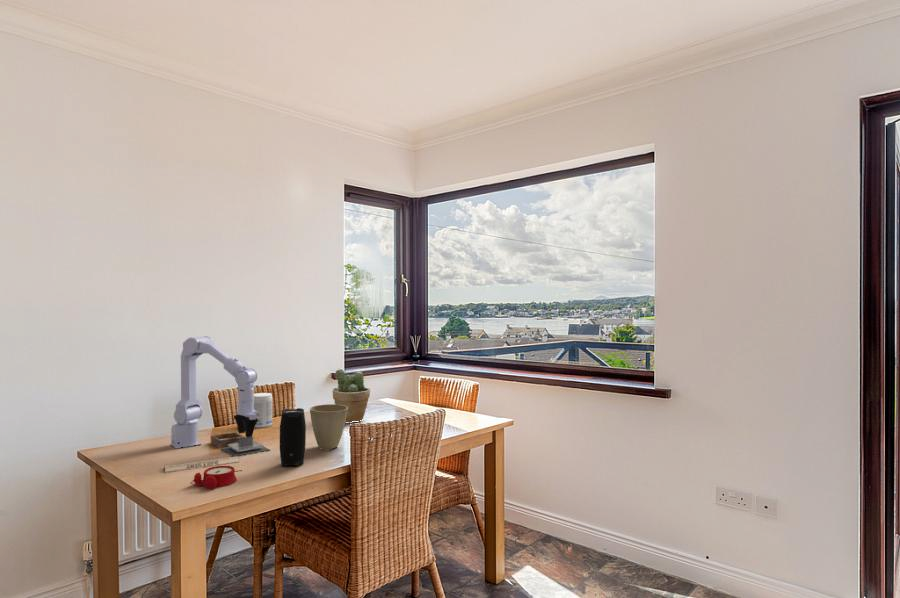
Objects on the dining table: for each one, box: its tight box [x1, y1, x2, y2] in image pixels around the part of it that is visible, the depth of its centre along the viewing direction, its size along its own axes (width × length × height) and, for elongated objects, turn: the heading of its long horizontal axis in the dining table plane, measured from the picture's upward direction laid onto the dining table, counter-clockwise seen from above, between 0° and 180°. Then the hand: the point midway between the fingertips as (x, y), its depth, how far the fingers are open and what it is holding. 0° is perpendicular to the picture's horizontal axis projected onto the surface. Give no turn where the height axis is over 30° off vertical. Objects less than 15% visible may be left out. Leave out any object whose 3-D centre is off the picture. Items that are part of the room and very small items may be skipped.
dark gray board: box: [220, 446, 271, 457], centre depth 212 cm, size 14×14×1 cm
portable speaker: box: [279, 407, 307, 468], centre depth 194 cm, size 9×9×20 cm
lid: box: [227, 436, 265, 452], centre depth 212 cm, size 10×10×5 cm
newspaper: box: [163, 456, 240, 473], centre depth 192 cm, size 24×7×2 cm, turn 122°
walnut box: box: [210, 431, 245, 449], centre depth 221 cm, size 10×10×3 cm
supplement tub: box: [254, 392, 273, 429], centre depth 253 cm, size 10×10×15 cm
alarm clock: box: [190, 465, 243, 490], centre depth 174 cm, size 10×6×15 cm
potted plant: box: [332, 368, 371, 422], centre depth 266 cm, size 18×19×25 cm
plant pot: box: [309, 403, 348, 450], centre depth 217 cm, size 15×15×16 cm
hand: (245, 434), depth 212 cm, fingers open, 7 cm apart
